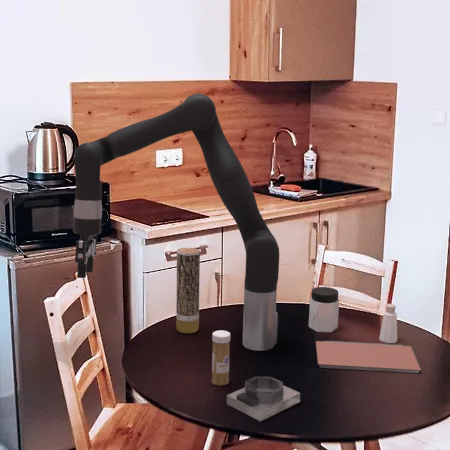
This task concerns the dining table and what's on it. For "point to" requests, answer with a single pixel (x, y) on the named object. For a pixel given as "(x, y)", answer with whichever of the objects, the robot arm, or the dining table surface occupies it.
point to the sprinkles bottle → (220, 357)
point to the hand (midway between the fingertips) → (85, 274)
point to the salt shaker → (389, 325)
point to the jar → (324, 309)
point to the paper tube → (188, 290)
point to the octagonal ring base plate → (263, 397)
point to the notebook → (366, 356)
